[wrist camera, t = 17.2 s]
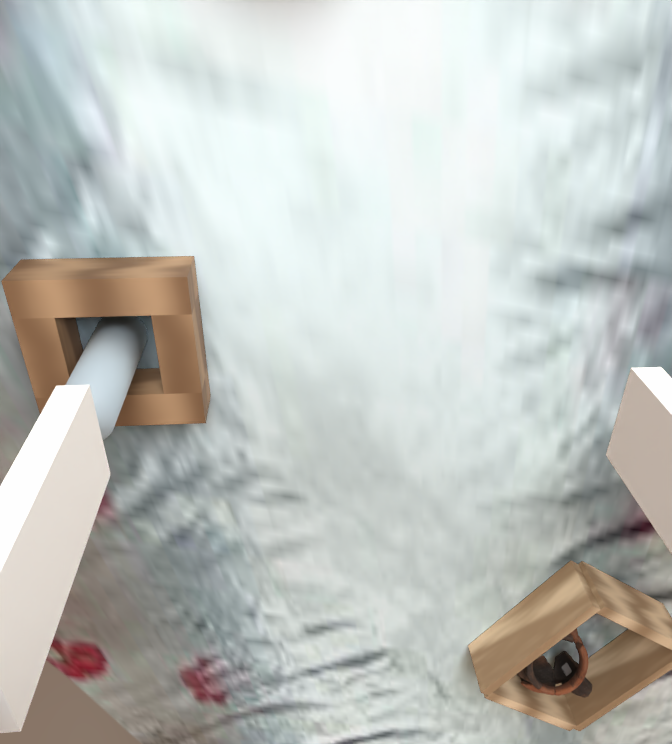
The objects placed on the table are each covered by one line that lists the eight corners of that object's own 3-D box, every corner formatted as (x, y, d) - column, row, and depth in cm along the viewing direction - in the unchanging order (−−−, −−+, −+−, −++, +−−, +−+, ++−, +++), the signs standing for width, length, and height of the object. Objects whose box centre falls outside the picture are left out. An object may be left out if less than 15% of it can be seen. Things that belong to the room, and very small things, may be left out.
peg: (156, 326, 53) (125, 411, 43) (134, 361, 54) (99, 451, 44) (110, 302, 51) (66, 384, 41) (89, 339, 53) (42, 426, 43)
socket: (193, 256, 50) (187, 277, 46) (210, 396, 57) (205, 422, 53) (21, 259, 49) (1, 281, 46) (58, 400, 56) (44, 428, 52)
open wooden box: (669, 607, 77) (696, 652, 71) (558, 687, 84) (576, 733, 79) (574, 557, 71) (597, 602, 66) (464, 647, 78) (477, 695, 73)
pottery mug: (478, 647, 79) (504, 681, 71) (520, 582, 80) (550, 608, 71) (555, 697, 81) (588, 735, 72) (596, 633, 81) (634, 663, 73)
